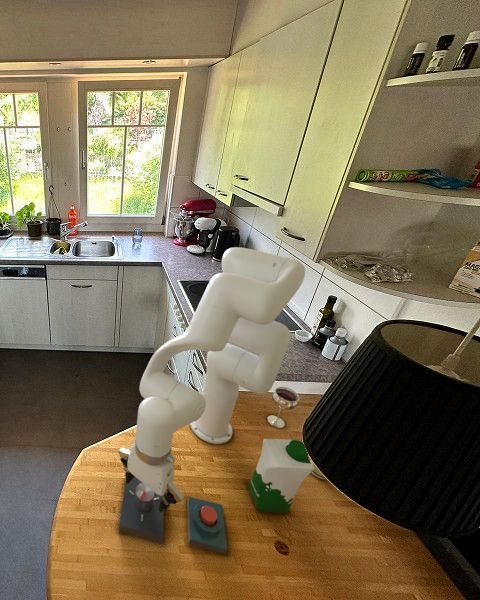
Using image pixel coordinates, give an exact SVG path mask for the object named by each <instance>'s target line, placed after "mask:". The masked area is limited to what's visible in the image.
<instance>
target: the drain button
mask: <svg viewBox="0 0 480 600" xmlns="http://www.w3.org/2000/svg"><path fill="white" fill-rule="evenodd" d="M200 518H201V520H202V522H203V523H204V524H206V525H208V526H213V525H214V524H215V523H216V520H217V513H216V511H215V510H214V509H213V508H212V507H210V506H204V507H202V509H201V512H200Z"/></svg>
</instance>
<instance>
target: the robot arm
mask: <svg viewBox="0 0 480 600" xmlns="http://www.w3.org/2000/svg"><path fill="white" fill-rule="evenodd" d="M221 270H222V272H218V273H216V274H214V275H212V277H211V278H210V279H209V282H208V284H207V286H206V288H205V290H204V292H203V294H202V296H201V299H200V301H199V303H198V305H197V307H196V309H195V311H194V313H193V315H192V318H191V320H190V322H189V324H188V326H187V328H186V329H185V331H184V332H183V333H181V334H180V335H178V336H175V337H173V338H171V339H170V340H167V341H166V342H165V343H163V344H162V345H161V346H160V347H159V348H158V349H156V351H154V353H153V354H152V356H151V357H150V360H149V361H148V363H147V366H146V368H145V370H144V372H143V374H142V376H141V378H140V379H141V380H140V382H139V389H138V390H139V393H140V395H141V397H142V398H143V400H142V401H141V402H140V403H139V406H138V410H137V420H136V429H135V439H134V441H133V442H132V445H131V447H130V449H127V448H124V447H120V448H119V449H118V450H117V452H118V455H119V458H120V462H121V463H122V465H123V466H124V467H123V470H124V472H125V475H124V476H125V481H126V483H127V484H129V482H130V481H131V480H132V479H133V478H134V477H136V478H137V479H139V480H140V481H141V482H142V483H144V484H145V485H146V486H147V487H148V488H150V489H151V490H152V491H153V492H155V493H156V494H158V495H160V497H161V499H162V500H161V501H160V506H159V511H160V512H161V513H162V511H163V510H164V511H167V510H168V509H169V507H170V505H176V504H178V503H181V502H183V501H184V499H185V496H184V494H183V492H182V491H181V490H180V489H179V488H178V487H177V485H176V484H175V483H174V479H175V461H176V457H175V456H174V455H173V454H172V449H173V448H172V444H173V439H174V434H175V433H176V432H177V431H179V430H181V429H183V428H185V427H187V426H188V425H189V426H190V429H191V430H192V432H193V433H194V434H195V435H196V436H197V437H198V438H199V439H201V440H203V441H204V442H207V443H210V444H213V445H222V444H226V443H228V442H229V441H230V440H231V439H232V437H233V436H232V435H233V427H232V424H231V419H232V416H233V413H234V410H235V407H236V403H237V401H238V398H239V394H240V387H241V388H244V389H245V390H248V391H249V392H252V393H254V394H257V395H265V394H267V393H269V391H271V389H272V388H273V386H274V384H275V382H276V380H277V376H278V374H279V372H280V369H281V366H282V363H283V361H284V359H285V358H284V357H285V356H286V353H287V351H288V348H289V345H290V340H291V332H290V329H289V327H288V326H286V325H285V324H283V323H281V322H279V321H276V319H277V317H278V316H279V315H281V313H282V312H283V310H284V309H285V308H286V306H287V305H288V304H289V302H290V301H291V300H292V299H293V298H294V296H295V295H296V293H297V292H298V291H299V289H300V287H301V286H302V284H303V282H304V279H305V276H306V267H305V266H304V265H303V263H301V262H300V261H299V260H296V259H294V258H290V257H285V256H281V255H277V254H272V253H268V252H264V251H260V250H256V249H253V248H252V249H251V248H247V247H240V246H234V247H229V248H228V249H226V250H225V251H224V253H223V255H222V257H221ZM187 351H204V352H207V354H206V372H205V379H204V382H203V383H204V384H203V388H202V391H201V393H200V392H199V391H197V390H196V389H194V388H192V387H190V386H189V385H187V384H185V383H183V382H181V380H178V379H176V378H175V377H173V376H171V375H170V374H168V373H166V372H165V369H166V367H167V365H168V363H169V362H170V360H171V359H172V358H173V357H174V356H176V355H177V354H180V353H183V352H187Z"/></svg>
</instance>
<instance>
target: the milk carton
mask: <svg viewBox="0 0 480 600" xmlns="http://www.w3.org/2000/svg"><path fill="white" fill-rule="evenodd" d="M303 443H304V442H302V441H301V440H298V439H283V438H282V439H281V438H263V440H262V446H261V452H260V457H259V458H258V461H257V464H256V467H255V469H254V472H253V474H252V477H251V478H250V480H249V481H248V483H247V486H248V488H249V492H250V494H251V496H252V498H253V501H254V503H255V505H256V508H257V511H258V512H264V513H281V514H289V511H290V508H291V506H292V502H293V501H294V499H295V496H296V494H297V493H298V491H299V490H300V487H301V485H302V483H303V481H304V480H305V479H306V478H307V477H308V476H309V475H310V474H312V473H311V471H312V470H313V469H314V468H313V466H312V465H311V462H310V459H309V455H308V453H307V451H306V449H305V446H304V444H305V443H304V444H303Z"/></svg>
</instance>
